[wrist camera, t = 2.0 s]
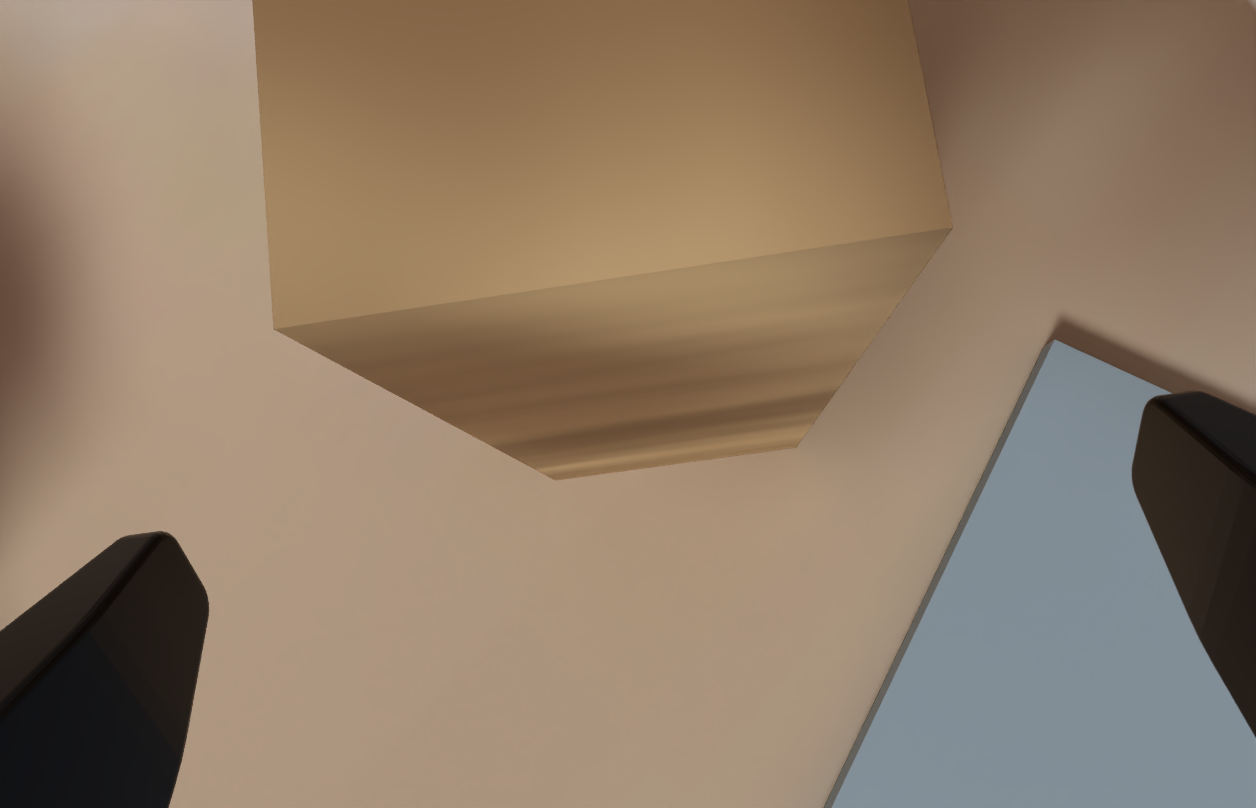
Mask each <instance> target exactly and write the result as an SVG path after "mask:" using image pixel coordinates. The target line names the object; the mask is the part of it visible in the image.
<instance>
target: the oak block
mask: <svg viewBox="0 0 1256 808" xmlns="http://www.w3.org/2000/svg"><path fill="white" fill-rule="evenodd" d="M252 1H253V16H254V32H255V47H256V63H257V78H258V94H259V109H260V125H261V140H262V156H263V171H264V187H265V202H266V218H267V233H268V249H269V264H270V280H271V295H272V311H273V326H274V330H276V331H278V332H280V333H282V334H284V335H286V336H287V337H289V338H291V339H293V340H295V341H297V342H299V343H300V344H302V345H304V346H306V347H308V348H310V349H312V350H314V351H315V352H317V353H319V354H321V355H323V356H325V357H327V358H328V359H330V360H332V361H334V362H336V363H338V364H340V365H341V366H343V367H345V368H347V369H349V370H351V371H353V372H354V373H356V374H358V375H360V376H362V377H364V378H366V379H368V380H369V381H371V382H373V383H375V384H377V385H379V386H381V387H382V388H384V389H386V390H388V391H390V392H392V393H394V394H395V395H397V396H399V397H401V398H403V399H405V400H407V401H409V402H410V403H412V404H414V405H416V406H418V407H420V408H422V409H423V410H425V411H427V412H429V413H431V414H433V415H435V416H436V417H438V418H440V419H442V420H444V421H446V422H448V423H450V424H451V425H453V426H455V427H457V428H459V429H461V430H463V431H464V432H466V433H468V434H470V435H472V436H474V437H476V438H477V439H479V440H481V441H483V442H485V443H487V444H489V445H491V446H492V447H494V448H496V449H498V450H500V451H502V452H504V453H505V454H507V455H509V456H511V457H513V458H515V459H517V460H518V461H520V462H522V463H524V464H526V465H528V466H530V467H531V468H533V469H535V470H537V471H539V472H541V473H543V474H545V475H546V476H548V477H550V478H552V479H554V480H561V479H569V478H576V477H583V476H590V475H598V474H605V473H612V472H620V471H627V470H634V469H642V468H649V467H656V466H664V465H671V464H678V463H686V462H693V461H700V460H708V459H715V458H722V457H729V456H737V455H744V454H751V453H759V452H766V451H773V450H781V449H788V448H795V447H797V446H798V444H799V443H800V441H801V440H802V439H803V437H804V436H805V434H806V433H807V432H808V430H809V429H810V427H811V426H812V425H813V423H814V422H815V420H816V419H817V418H818V416H819V415H820V413H821V412H822V410H823V409H824V408H825V406H826V405H827V403H828V402H829V401H830V399H831V398H832V396H833V395H834V394H835V392H836V391H837V389H838V388H839V387H840V385H841V384H842V382H843V381H844V380H845V378H846V377H847V375H848V374H849V373H850V371H851V370H852V368H853V367H854V366H855V364H856V363H857V361H858V360H859V359H860V357H861V356H862V354H863V353H864V352H865V350H866V349H867V347H868V346H869V345H870V343H871V342H872V340H873V339H874V337H875V336H876V335H877V333H878V332H879V330H880V329H881V328H882V326H883V325H884V323H885V322H886V321H887V319H888V318H889V316H890V315H891V314H892V312H893V311H894V309H895V308H896V307H897V305H898V304H899V302H900V301H901V300H902V298H903V297H904V295H905V294H906V293H907V291H908V290H909V288H910V287H911V286H912V284H913V283H914V281H915V280H916V279H917V277H918V276H919V274H920V273H921V272H922V270H923V269H924V267H925V266H926V264H927V263H928V262H929V260H930V259H931V257H932V256H933V255H934V253H935V252H936V250H937V249H938V248H939V246H940V245H941V243H942V242H943V241H944V239H945V238H946V236H947V235H948V234H949V232H950V231H951V229H952V228H953V225H952V220H951V215H950V210H949V205H948V200H947V195H946V190H945V185H944V179H943V174H942V169H941V164H940V159H939V154H938V149H937V144H936V139H935V134H934V129H933V124H932V118H931V113H930V108H929V103H928V98H927V93H926V88H925V83H924V78H923V73H922V68H921V62H920V57H919V52H918V47H917V42H916V37H915V32H914V27H913V22H912V17H911V12H910V7H909V1H908V0H252Z"/></svg>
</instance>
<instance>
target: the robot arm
mask: <svg viewBox="0 0 1256 808" xmlns="http://www.w3.org/2000/svg"><path fill="white" fill-rule="evenodd" d="M1131 472H1132V484H1133V488H1134V492H1135V494H1136V497H1137V499H1138V502H1139V504H1140V506H1141V508H1142V511H1143V513H1144V515H1145V518H1146V520H1147V522H1148V525H1149V527H1150V529H1151V532H1152V534H1153V536H1154V538H1155V541H1156V543H1157V545H1158V548H1159V550H1160V552H1161V555H1162V557H1163V559H1164V561H1165V564H1166V566H1167V568H1168V571H1169V573H1170V575H1171V578H1172V580H1173V582H1174V585H1175V587H1176V589H1177V591H1178V594H1179V596H1180V598H1181V601H1182V603H1183V605H1184V608H1185V610H1186V612H1187V614H1188V617H1189V619H1190V621H1191V623H1192V625H1193V627H1194V629H1195V632H1196V634H1197V636H1198V638H1199V640H1200V642H1201V644H1202V645H1203V647H1204V649H1205V651H1206V653H1207V655H1208V656H1209V658H1210V660H1211V662H1212V664H1213V665H1214V667H1215V669H1216V671H1217V672H1218V674H1219V676H1220V677H1221V679H1222V681H1223V683H1224V684H1225V686H1226V688H1227V689H1228V691H1229V693H1230V695H1231V696H1232V698H1233V700H1234V702H1235V703H1236V705H1237V707H1238V708H1239V710H1240V712H1241V714H1242V715H1243V717H1244V719H1245V720H1246V722H1247V724H1248V726H1249V727H1250V729H1251V731H1252V733H1253V734H1254V736H1255V738H1256V415H1255V414H1252V413H1250V412H1248V411H1246V410H1243V409H1241V408H1239V407H1236V406H1234V405H1232V404H1230V403H1227V402H1225V401H1223V400H1221V399H1218V398H1216V397H1214V396H1212V395H1209V394H1207V393H1204V392H1201V391H1187V392H1179V393H1172V394H1165V395H1158V396H1155V397H1153V398H1151V399H1150V400H1149V401H1148V402H1147V403H1146V405H1145V407H1144V410H1143V413H1142V418H1141V423H1140V428H1139V433H1138V438H1137V443H1136V448H1135V453H1134V458H1133V463H1132V470H1131ZM208 616H209V602H208V596H207V593H206V590H205V588H204V586H203V584H202V582H201V581H200V579H199V577H198V576H197V574H196V572H195V570H194V569H193V567H192V565H191V564H190V562H189V560H188V558H187V557H186V555H185V553H184V552H183V550H182V548H181V547H180V545H179V543H178V542H177V540H176V539H175V538H174V537H173V536H172V535H171V534H169V533H167V532H163V531H157V532H149V533H142V534H134V535H129V536H125V537H122V538H120V539H118V540H117V541H116V542H114V543H113V544H112V545H110V546H109V547H108V548H107V549H105V550H104V551H103V552H101V553H100V554H99V555H98V556H96V557H95V558H94V559H92V560H91V561H90V562H89V563H87V564H86V565H85V566H83V567H82V568H81V569H80V570H78V571H77V572H76V573H74V574H73V575H72V576H71V577H69V578H68V579H67V580H65V581H64V582H63V583H62V584H60V585H59V586H58V587H56V588H55V589H54V590H53V591H51V592H50V593H49V594H47V595H46V596H45V597H44V598H42V599H41V600H40V601H38V602H37V603H36V604H35V605H33V606H32V607H31V608H29V609H28V610H27V611H26V612H24V613H23V614H22V615H20V616H19V617H18V618H17V619H15V620H14V621H13V622H11V623H10V624H9V625H8V626H6V627H5V628H4V629H2V630H1V631H0V808H169V804H170V801H171V798H172V794H173V791H174V787H175V784H176V780H177V776H178V772H179V769H180V765H181V761H182V757H183V752H184V748H185V743H186V738H187V733H188V728H189V722H190V716H191V711H192V705H193V700H194V694H195V689H196V683H197V678H198V672H199V667H200V661H201V655H202V650H203V644H204V639H205V633H206V628H207V622H208Z"/></svg>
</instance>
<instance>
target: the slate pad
mask: <svg viewBox="0 0 1256 808" xmlns="http://www.w3.org/2000/svg"><path fill="white" fill-rule="evenodd" d="M1165 394H1172V393H1170V392H1168V391H1166V390H1164V389H1162V388H1159V387H1157V386H1155V385H1153V384H1151V383H1149V382H1146V381H1144V380H1142V379H1140V378H1138V377H1135V376H1133V375H1131V374H1129V373H1127V372H1125V371H1122V370H1120V369H1118V368H1116V367H1114V366H1112V365H1109V364H1107V363H1105V362H1103V361H1101V360H1098V359H1096V358H1094V357H1092V356H1090V355H1088V354H1085V353H1083V352H1081V351H1079V350H1077V349H1074V348H1072V347H1070V346H1068V345H1066V344H1064V343H1061V342H1059V341H1057V340H1055V339H1054V340H1053V341H1051V342H1050V343H1048V344H1047V345H1045V346H1044V348H1043V350H1042V352H1041V354H1040V356H1039V358H1038V360H1037V362H1036V365H1035V367H1034V369H1033V371H1032V373H1031V375H1030V377H1029V379H1028V381H1027V383H1026V385H1025V388H1024V390H1023V392H1022V394H1021V396H1020V398H1019V400H1018V402H1017V404H1016V406H1015V409H1014V411H1013V413H1012V415H1011V417H1010V419H1009V421H1008V423H1007V425H1006V427H1005V429H1004V432H1003V434H1002V436H1001V438H1000V440H999V442H998V444H997V446H996V448H995V450H994V453H993V455H992V457H991V459H990V461H989V463H988V465H987V467H986V469H985V471H984V473H983V476H982V478H981V480H980V482H979V484H978V486H977V488H976V490H975V492H974V494H973V497H972V499H971V501H970V503H969V505H968V507H967V509H966V511H965V513H964V515H963V517H962V520H961V522H960V524H959V526H958V528H957V530H956V532H955V534H954V536H953V538H952V541H951V543H950V545H949V547H948V549H947V551H946V553H945V555H944V557H943V559H942V561H941V564H940V566H939V568H938V570H937V572H936V574H935V576H934V578H933V580H932V582H931V585H930V587H929V589H928V591H927V593H926V595H925V597H924V599H923V601H922V603H921V605H920V608H919V610H918V612H917V614H916V616H915V618H914V620H913V622H912V624H911V626H910V629H909V631H908V633H907V635H906V637H905V639H904V641H903V643H902V645H901V647H900V649H899V652H898V654H897V656H896V658H895V660H894V662H893V664H892V666H891V668H890V670H889V673H888V675H887V677H886V679H885V681H884V683H883V685H882V687H881V689H880V691H879V693H878V696H877V698H876V700H875V702H874V704H873V706H872V708H871V710H870V712H869V714H868V717H867V719H866V721H865V723H864V725H863V727H862V729H861V731H860V733H859V735H858V737H857V740H856V742H855V744H854V746H853V748H852V750H851V752H850V754H849V756H848V758H847V761H846V763H845V765H844V767H843V769H842V771H841V773H840V775H839V777H838V779H837V781H836V784H835V786H834V788H833V790H832V792H831V794H830V796H829V798H828V800H827V802H826V805H825V807H824V808H1256V738H1255V736H1254V734H1253V733H1252V731H1251V729H1250V727H1249V726H1248V724H1247V722H1246V720H1245V719H1244V717H1243V715H1242V714H1241V712H1240V710H1239V708H1238V707H1237V705H1236V703H1235V702H1234V700H1233V698H1232V696H1231V695H1230V693H1229V691H1228V689H1227V688H1226V686H1225V684H1224V683H1223V681H1222V679H1221V677H1220V676H1219V674H1218V672H1217V671H1216V669H1215V667H1214V665H1213V664H1212V662H1211V660H1210V658H1209V656H1208V655H1207V653H1206V651H1205V649H1204V647H1203V645H1202V644H1201V642H1200V640H1199V638H1198V636H1197V634H1196V632H1195V629H1194V627H1193V625H1192V623H1191V621H1190V619H1189V617H1188V614H1187V612H1186V610H1185V608H1184V605H1183V603H1182V601H1181V598H1180V596H1179V594H1178V591H1177V589H1176V587H1175V585H1174V582H1173V580H1172V578H1171V575H1170V573H1169V571H1168V568H1167V566H1166V564H1165V561H1164V559H1163V557H1162V555H1161V552H1160V550H1159V548H1158V545H1157V543H1156V541H1155V538H1154V536H1153V534H1152V532H1151V529H1150V527H1149V525H1148V522H1147V520H1146V518H1145V515H1144V513H1143V511H1142V508H1141V506H1140V504H1139V502H1138V499H1137V497H1136V494H1135V492H1134V488H1133V484H1132V472H1131V470H1132V463H1133V458H1134V453H1135V448H1136V443H1137V438H1138V433H1139V428H1140V423H1141V418H1142V413H1143V410H1144V407H1145V405H1146V403H1147V402H1148V401H1149V400H1150V399H1151V398H1153V397H1155V396H1158V395H1165Z"/></svg>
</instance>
